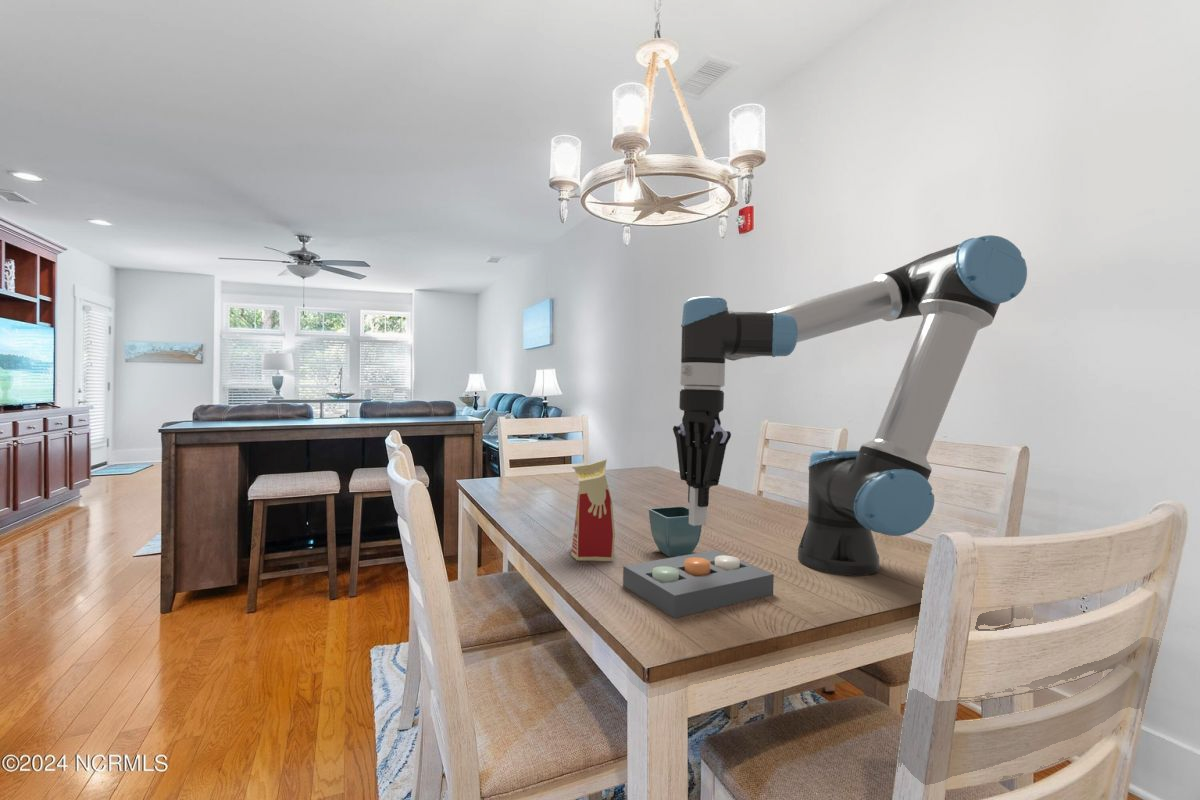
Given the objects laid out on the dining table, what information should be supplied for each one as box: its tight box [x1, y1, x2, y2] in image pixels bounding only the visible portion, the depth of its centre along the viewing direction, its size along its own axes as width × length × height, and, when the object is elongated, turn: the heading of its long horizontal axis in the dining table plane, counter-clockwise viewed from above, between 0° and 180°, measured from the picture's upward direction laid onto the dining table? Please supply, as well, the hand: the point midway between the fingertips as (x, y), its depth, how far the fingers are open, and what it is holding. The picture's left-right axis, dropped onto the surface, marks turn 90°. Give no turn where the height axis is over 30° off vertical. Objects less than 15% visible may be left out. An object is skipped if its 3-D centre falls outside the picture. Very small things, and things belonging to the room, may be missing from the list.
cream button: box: [715, 554, 741, 571], centre depth 97 cm, size 4×4×3 cm
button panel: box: [622, 549, 775, 619], centre depth 94 cm, size 21×15×4 cm
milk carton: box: [570, 458, 616, 562], centre depth 113 cm, size 9×9×20 cm
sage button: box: [652, 566, 679, 583], centre depth 91 cm, size 4×4×3 cm
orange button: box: [685, 557, 710, 577], centre depth 94 cm, size 4×4×3 cm
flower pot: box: [648, 505, 703, 558], centre depth 114 cm, size 9×9×9 cm
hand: (697, 523), depth 94 cm, fingers closed
